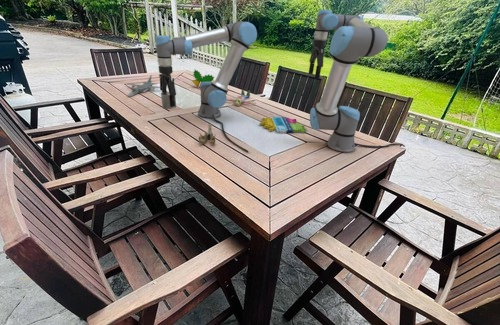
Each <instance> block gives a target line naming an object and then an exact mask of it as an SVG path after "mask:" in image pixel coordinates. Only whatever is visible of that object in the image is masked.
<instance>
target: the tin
mask: <svg viewBox="0 0 500 325" xmlns="http://www.w3.org/2000/svg"><path fill="white" fill-rule="evenodd" d="M169 95H170V93H169V91H167V92H162V91H161V92H160V98H161V107H162V109H164V110H173V109H176V108H177V99H176V95H175V96H174V100H175V106H174V107H170V98H169Z"/></svg>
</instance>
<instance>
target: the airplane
mask: <svg viewBox="0 0 500 325" xmlns="http://www.w3.org/2000/svg"><path fill="white" fill-rule="evenodd" d="M152 76H153V74H151V75H150V76H149V78H148V79H147V82H146V81H142V84H136V83H135V84H134V83H128V85H130V86H131V87H130V89H132V90H131V91H130V92H129V93H128V95H127V96H126V98H128V97H133V96H135V95H137V94H139V93H146V92H147V91H148V92H149V90H150V91H153V90H155V89H157V88H159V89H160V86H155V85H159V82H158V83H157V82H153V81H152Z"/></svg>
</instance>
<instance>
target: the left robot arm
mask: <svg viewBox="0 0 500 325" xmlns="http://www.w3.org/2000/svg"><path fill="white" fill-rule="evenodd" d="M257 37H258V31H257V28H256V26H255V25H254V24H253V23H251V22H249V21H240V20H239V21H234V22H232V23H229V24H225V25H222V27H220V28H215V29H211V30H207V31H206V30H205V31H202V32H197V33H192V34H188V35H183V36H178V37H177V36H175V37H172V38H170V36H169V35H163V34H162V35H160V34H159V35H156V36H155V49H156V57H157V65H158V73H159V74H158V76H159V87H160V88H159V91H161V93H162V92H169V93H170V95H169V98H170V107H174V106H175V100H174V96H175V97H176V96H177V92H176V85H175V78H174V77H172V74H173V72H174V71H173V70H174V69H173V60H172V59H173V58H172V56H173V55H181V56H183V55H186V56H187V55H192V54H193V49H196V48H199V47H204V46H209V45H212V44H213V45H214V44H217V43H223V42H227V43H229V42H231V45H230V47H229V49H228V51H227V54H226V56H225V58H224V60H223V63H222V65H221V67H220V69H219V71H218V73H217V76H216V78H215V80H213V81H212V82H200V84H201V85H200V84H199V87H200V88H199V89H200V106H199V109H198V116H199V117H201V118H205V119H213V120H214V121H215V122H216V123H219V124H221V129H222V133H223V135H224V137H225V138H226V139H227V140H228V141H229V142H230V143H231V144H233V145H235V146H236V147H237V148H240V149H241V150H242V151H244V152H246V153H248V152H249V150H247V149H245V148H244V147H242V146H241V145H239V144H237V143H236V142H235V141H233V140H232V139H231V138H229V137H228V135H227V134H226V131H225V129H224V123H223V122H221V121H219V120H217V119H216V118H219V117H221V110H220V108H222V107H223V106H224V105H225V104H226V103H227V101H226V100H227V99H228V98H227V95H228V93H229V89H228V87H229V84H230V82H231V81H232V79H233V76H234V74H235V72H236V70H237V68H238V65H239V64H240V61H241V60H242V58H243V55H244V53H245V52H247V51H248V50H249V49H250V46H252V44H254V43H255V41H256V40H257ZM167 89H168V90H167Z"/></svg>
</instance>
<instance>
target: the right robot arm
mask: <svg viewBox="0 0 500 325" xmlns="http://www.w3.org/2000/svg"><path fill="white" fill-rule="evenodd" d="M332 12H333V11H332V10H331V9H319V10H318V12H317V16H316V24H315V28H314V33H313V38H314V39H313V41H312V46H313V47H312V51H311V54H310V57H309V61H308V62H309V68H308V72H307V73H308V75H313V74H314V68H315V67H316V68H315V74H314V79H320V78H321V77H320V76H321V71H322V68H323V67H324V53H325V49H323V48H325V47H326V45H327V39H328V34H329V31H331V30H333V31H335V32H334V33H333V35H332V38H331V41H330V46H329V54H330V55H331V59H332V64H331V68H330V71H329V73H328V77H327V79H326V83H325V86H324V89H323V92H322V96H321V98H320V101H319V102H317V103H316V105H315V107H311V108H310V111H309V123H310V124H309V125H310V127H311V129H313V130H318V131H319V130H320V131H321V130H322V131H332V134H331V135H330V136H329V138H328V140H327V144H326V145H327V147H328V148H329V149H331V150H333V151H336V152H339V153H352V152H354V150H355V147H356V146H359V147H364V148H373V149H374V148H375V149H377V148H388V147H390V146H398V145H399V146H402V147H404V148H406V145H405V144H403V143H402V142H401V143H399V142H398V143H397V142H396V143H395V142H394V143H389V144H386V145H367V144H360V143H357V142H355V135H356V131H357V128H358V126H359V125H358V124H359V121H360V117H361V112H360V111H359V110H358V109H357V108H354V107H351V106H347V105H339V107H338V106H337V105H338V103H339V100H340V98H341V96H342V93H343V90H344V87H345V85H346V83H347V79H348V77H349V75H350V72H351V69H352V67H353V65H356V64H357V63H358V61H359V59H360V58H372V57H376V56H377V55H380V54H381V53H382V52H383V51H384V50H385V48H386V47H387V45H388V41H389V40H388V39H389V36H388V34H387V32H386V31H385V30H384V29H382V28H380V27H379V26H378V27H377V26H372V25H370V24H369V23H368V22H365V21H364V17H363V16H361V15H358V14H357V15H354V14H353V15H352V14H339V13H332ZM315 64H316V66H315Z"/></svg>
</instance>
